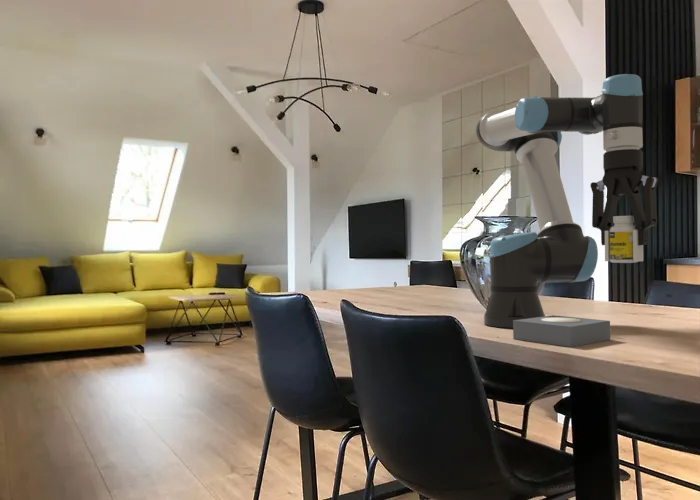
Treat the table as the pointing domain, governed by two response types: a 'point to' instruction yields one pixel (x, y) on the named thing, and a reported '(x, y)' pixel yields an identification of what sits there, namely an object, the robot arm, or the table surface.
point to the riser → (561, 330)
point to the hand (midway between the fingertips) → (623, 260)
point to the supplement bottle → (622, 239)
